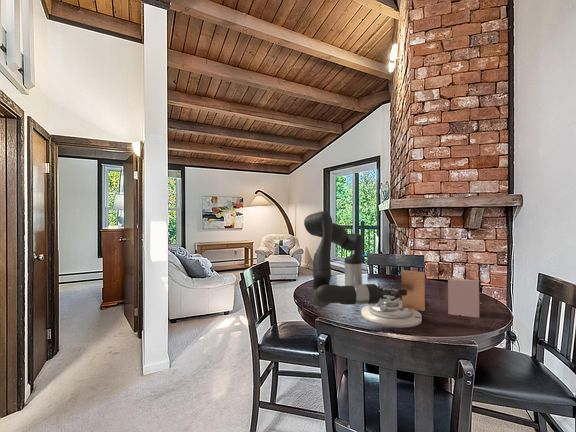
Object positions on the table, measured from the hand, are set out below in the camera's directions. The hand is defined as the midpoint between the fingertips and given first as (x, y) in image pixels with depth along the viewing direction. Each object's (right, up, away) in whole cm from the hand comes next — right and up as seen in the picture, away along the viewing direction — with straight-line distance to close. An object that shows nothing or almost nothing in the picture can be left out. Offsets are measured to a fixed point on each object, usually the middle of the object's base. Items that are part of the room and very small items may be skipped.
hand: (405, 292), depth 117 cm
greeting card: (+28, -13, +10) cm, 32 cm away
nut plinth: (-3, -13, +8) cm, 15 cm away
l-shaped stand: (-2, -10, +7) cm, 12 cm away
